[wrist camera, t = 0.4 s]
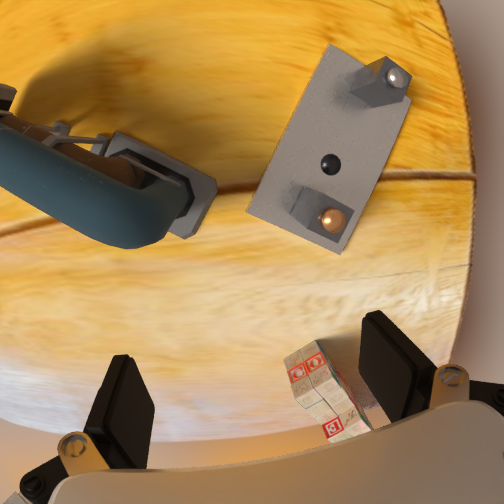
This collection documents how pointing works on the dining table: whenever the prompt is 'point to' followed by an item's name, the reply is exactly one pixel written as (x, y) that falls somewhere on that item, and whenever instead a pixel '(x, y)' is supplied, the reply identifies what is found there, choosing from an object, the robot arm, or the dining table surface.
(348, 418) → the stack of blocks
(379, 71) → the fixed leg
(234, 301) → the dining table surface
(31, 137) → the curved pipe assembly
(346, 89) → the hole plate
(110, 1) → the dining table surface
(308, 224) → the block
